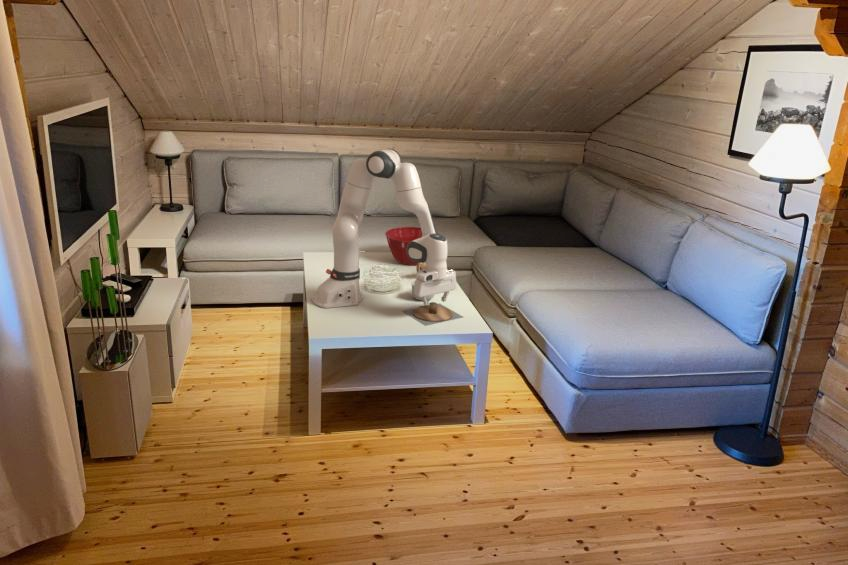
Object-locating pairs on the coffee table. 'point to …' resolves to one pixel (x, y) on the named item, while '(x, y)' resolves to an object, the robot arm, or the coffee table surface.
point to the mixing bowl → (402, 242)
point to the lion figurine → (420, 266)
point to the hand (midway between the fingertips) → (435, 302)
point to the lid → (432, 313)
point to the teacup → (420, 297)
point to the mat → (410, 313)
